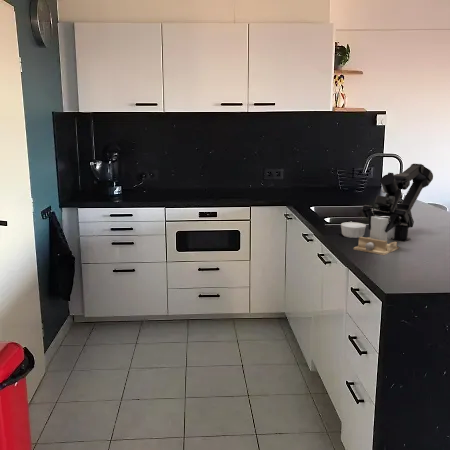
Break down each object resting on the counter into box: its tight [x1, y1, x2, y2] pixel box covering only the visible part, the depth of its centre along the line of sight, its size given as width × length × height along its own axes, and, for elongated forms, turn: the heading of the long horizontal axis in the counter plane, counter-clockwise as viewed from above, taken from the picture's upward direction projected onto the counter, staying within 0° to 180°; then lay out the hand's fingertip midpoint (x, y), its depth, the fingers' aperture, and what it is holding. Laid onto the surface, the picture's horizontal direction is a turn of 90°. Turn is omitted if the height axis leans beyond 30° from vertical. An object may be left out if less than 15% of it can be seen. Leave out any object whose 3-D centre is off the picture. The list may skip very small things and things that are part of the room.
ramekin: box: [340, 221, 367, 239], centre depth 229 cm, size 11×11×5 cm
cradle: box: [353, 236, 400, 256], centre depth 206 cm, size 14×13×5 cm
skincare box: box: [369, 215, 389, 242], centre depth 205 cm, size 6×4×12 cm
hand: (377, 230), depth 204 cm, fingers closed on skincare box, 7 cm apart
